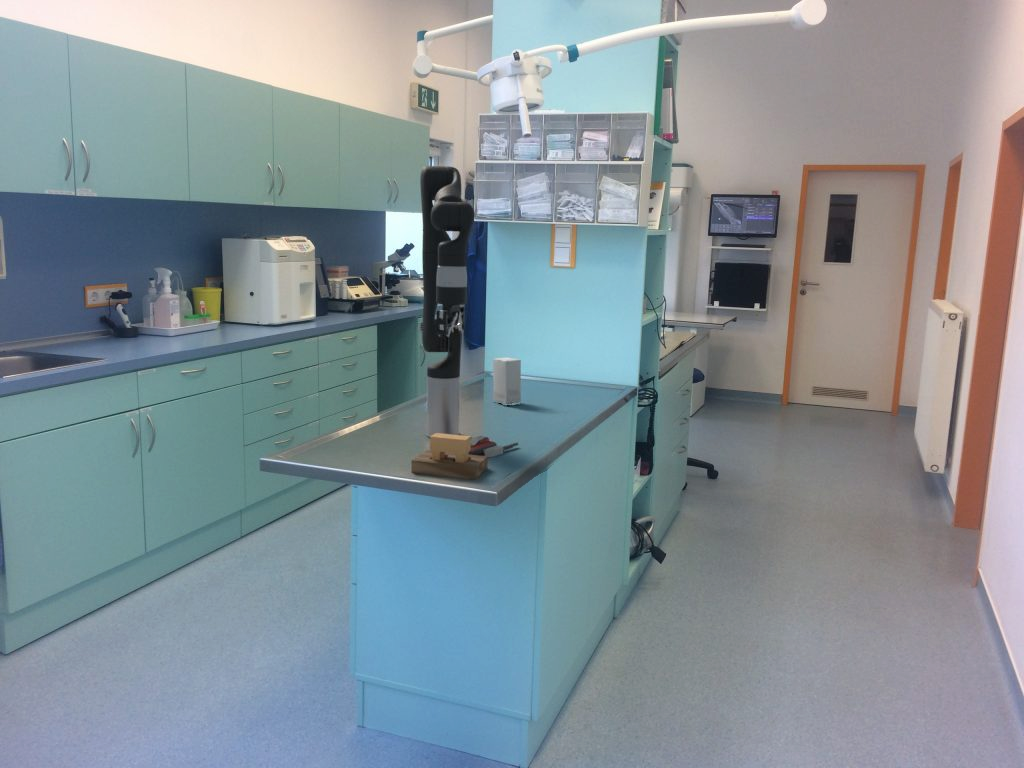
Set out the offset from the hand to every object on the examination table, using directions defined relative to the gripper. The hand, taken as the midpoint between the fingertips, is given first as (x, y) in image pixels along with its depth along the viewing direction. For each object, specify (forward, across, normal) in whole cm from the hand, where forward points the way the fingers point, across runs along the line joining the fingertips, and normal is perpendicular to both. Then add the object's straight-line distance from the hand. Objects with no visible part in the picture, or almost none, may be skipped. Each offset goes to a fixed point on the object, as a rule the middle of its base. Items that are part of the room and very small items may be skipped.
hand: (450, 349), depth 203 cm
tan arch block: (+28, -10, -4) cm, 30 cm away
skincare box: (+28, +73, +6) cm, 79 cm away
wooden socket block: (+28, -10, -4) cm, 30 cm away
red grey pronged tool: (+29, +9, -7) cm, 31 cm away
